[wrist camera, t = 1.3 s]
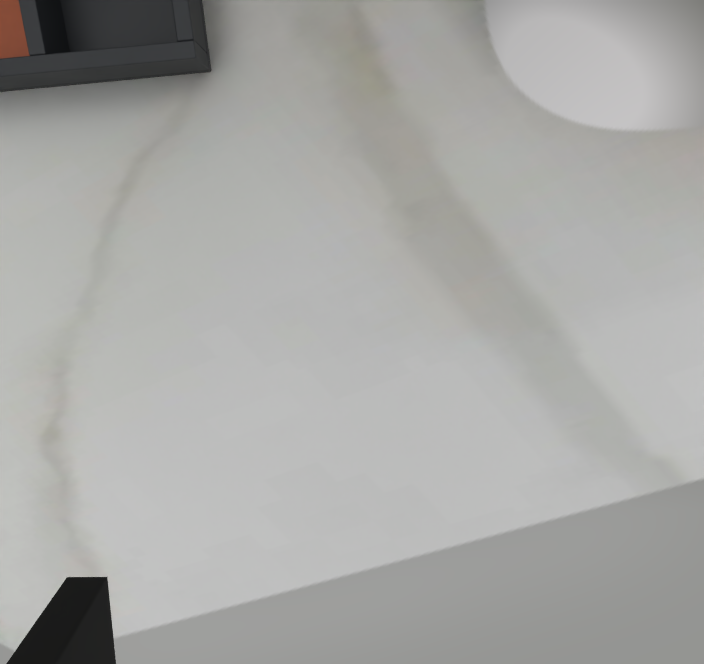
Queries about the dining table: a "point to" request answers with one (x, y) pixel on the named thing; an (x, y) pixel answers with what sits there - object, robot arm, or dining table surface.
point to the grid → (99, 41)
